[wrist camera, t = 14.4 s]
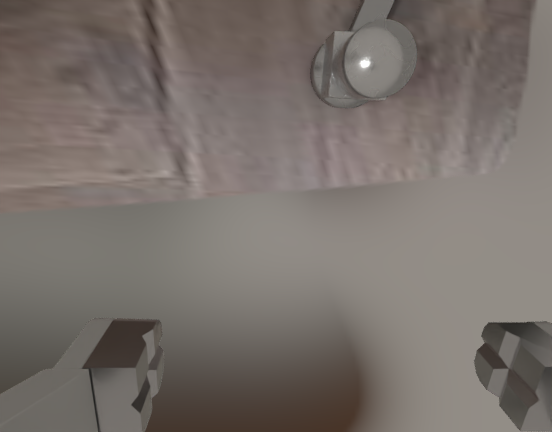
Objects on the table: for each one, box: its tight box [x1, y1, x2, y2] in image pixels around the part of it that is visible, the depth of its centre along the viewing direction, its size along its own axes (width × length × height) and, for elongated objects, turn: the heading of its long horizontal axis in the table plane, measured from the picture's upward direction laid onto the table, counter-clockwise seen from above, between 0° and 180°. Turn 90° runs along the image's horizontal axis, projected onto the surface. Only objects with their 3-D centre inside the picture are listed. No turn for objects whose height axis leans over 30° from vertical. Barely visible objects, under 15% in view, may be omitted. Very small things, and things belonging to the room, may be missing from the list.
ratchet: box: [310, 0, 394, 108], centre depth 31 cm, size 18×7×6 cm, turn 157°
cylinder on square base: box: [320, 19, 417, 100], centre depth 28 cm, size 5×5×9 cm
